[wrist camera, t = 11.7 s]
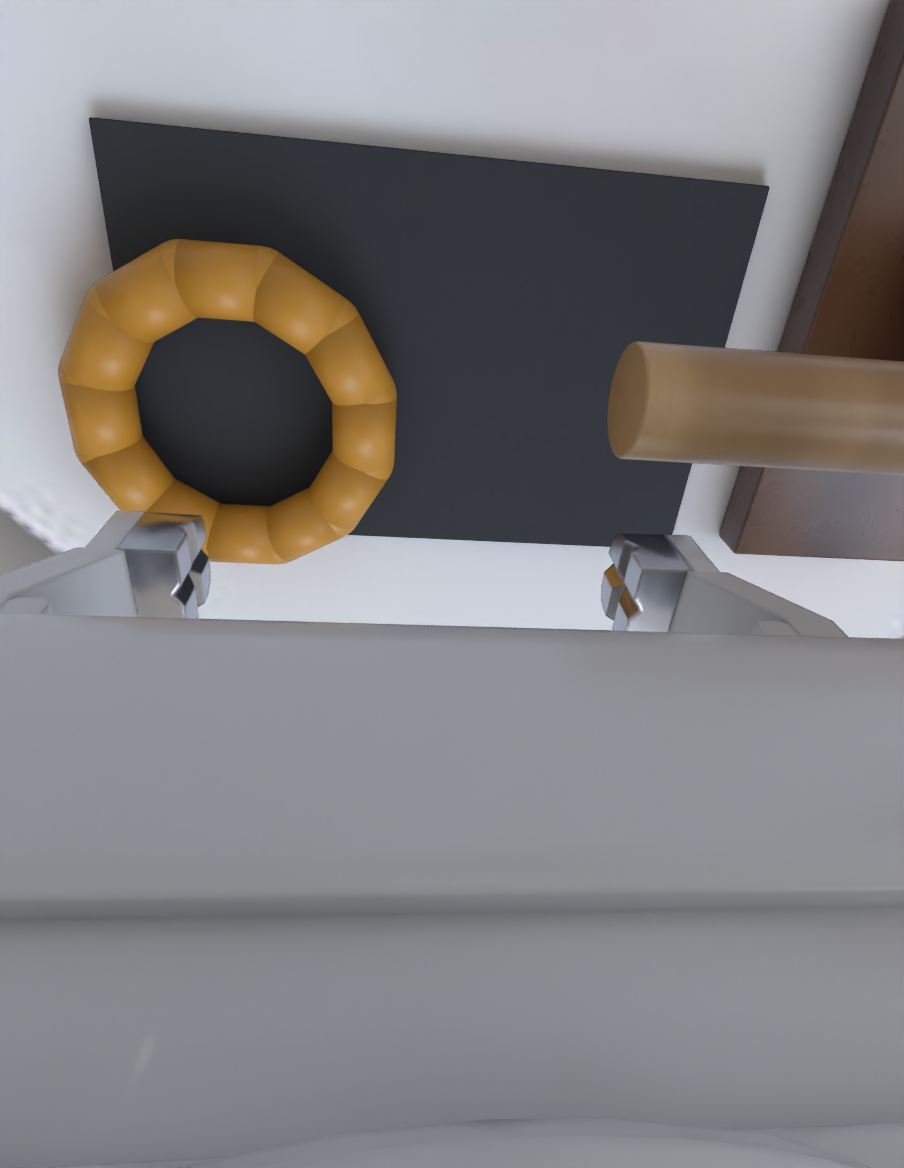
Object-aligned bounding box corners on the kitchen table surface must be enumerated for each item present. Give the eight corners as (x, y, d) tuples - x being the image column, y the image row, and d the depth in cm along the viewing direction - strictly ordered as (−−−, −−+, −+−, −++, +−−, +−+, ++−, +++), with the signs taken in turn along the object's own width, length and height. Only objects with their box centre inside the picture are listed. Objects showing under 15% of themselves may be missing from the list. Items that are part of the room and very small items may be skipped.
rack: (1127, 27, 18) (2375, -245, 7) (886, 544, 26) (1261, 823, 15) (557, -49, 17) (900, -570, 5) (488, 525, 25) (560, 819, 13)
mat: (157, 521, 24) (153, 526, 24) (93, 118, 18) (87, 117, 18) (664, 545, 26) (668, 550, 25) (764, 186, 20) (770, 186, 19)
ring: (389, 579, 23) (88, 567, 22) (390, 552, 25) (111, 539, 24) (402, 261, 18) (11, 228, 17) (402, 254, 20) (47, 224, 19)
